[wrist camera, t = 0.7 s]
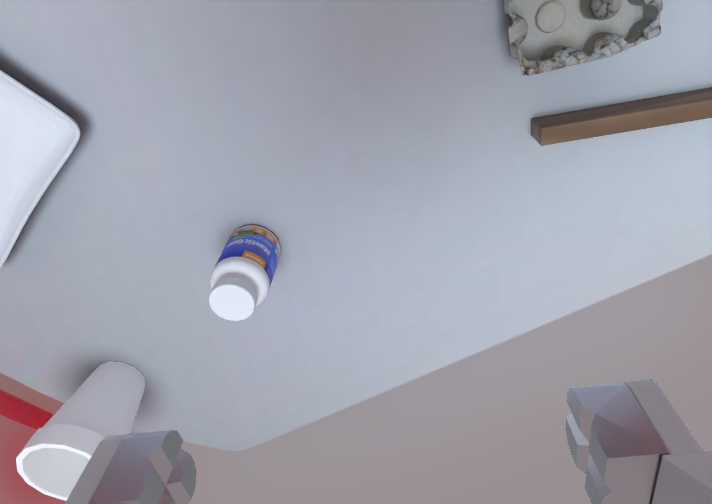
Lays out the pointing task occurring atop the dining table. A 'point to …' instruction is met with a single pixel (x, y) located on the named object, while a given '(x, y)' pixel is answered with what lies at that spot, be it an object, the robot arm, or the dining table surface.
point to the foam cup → (81, 428)
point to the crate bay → (623, 117)
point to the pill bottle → (244, 272)
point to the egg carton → (577, 30)
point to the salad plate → (28, 154)
